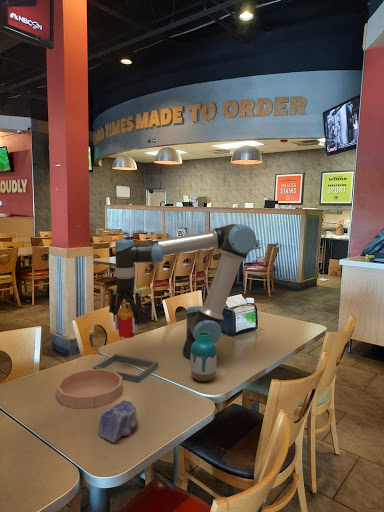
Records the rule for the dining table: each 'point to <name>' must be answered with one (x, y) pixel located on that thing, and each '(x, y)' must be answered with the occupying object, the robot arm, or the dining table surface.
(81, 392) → the bowl
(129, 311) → the french fries
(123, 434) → the mineral
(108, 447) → the dining table surface
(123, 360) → the gray square frame
